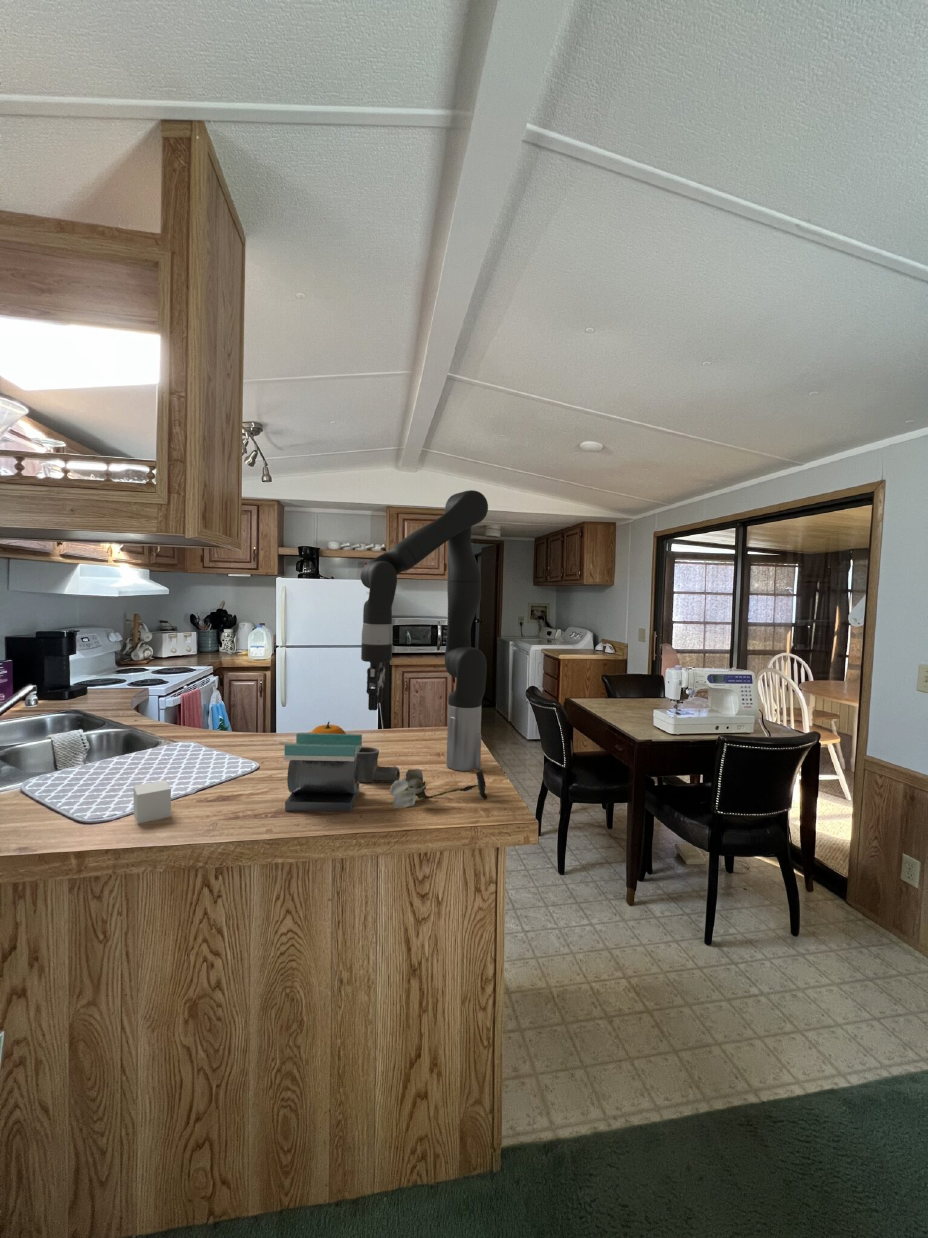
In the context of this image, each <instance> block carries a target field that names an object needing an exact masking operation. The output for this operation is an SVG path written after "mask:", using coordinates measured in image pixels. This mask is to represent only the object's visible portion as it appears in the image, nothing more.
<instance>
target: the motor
mask: <svg viewBox="0 0 928 1238" xmlns="http://www.w3.org/2000/svg"><path fill="white" fill-rule="evenodd" d="M295 737H296V738H295V739H296V741H295V743H291V744H290V743H289V744H288V743H285V745H284V753H283V754H284V755H283V760H284V761H289V763H288V769H287V779H286V780H287V790H288V792H289V793H290V794H289V796H288V797H287V799H286V800H285V801H284V811H285V812H325V813H326V812H329V813H330V812H331V813H332V812H333V813H351V812H352V809H353V807H354V804H355V803H356V799H357V797H358V795H359V793H360V782H359V781H358V772H359V758H358V753H359V751H360V749H361V747H363V734H360V733H359V734H357V733H354V734H353V733H346V734H320V733H311V732H310V733H309V732H308V733H307V732H305V733H304V732H297V733H296V736H295Z"/></svg>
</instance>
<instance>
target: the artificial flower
mask: <svg viewBox="0 0 928 1238" xmlns="http://www.w3.org/2000/svg"><path fill="white" fill-rule="evenodd" d="M475 774H476V778H477V785H467V786H465V787H463V788H459V787H458V788H454V789H451V790H448V791H443V792H440V793H437V794H432V795H427V794H426V792H425V791H426V790H427V786H428V784H426V780H424V775H423V771H422V769H419V768H416V769H412V768H411V769H407V771H406V773H405V775H404V776H405V777H402V778H401V779H399V780H397V781H395V782H392V783H393V784H391V785H390V791H389V792H390V793H389V794H390V795H391V796H392V797H394V798H393V800H392V804H391V806H393V807H395V808H400V809H401V807H404V808H407V807H413V806H414V805H415V804H416V797H417V798H418V799H431V798H432V799H433V798H434V797H438V796H443V795H445V794H447V793H448V794H449V793H454V792H458V791H460V792H468V791H470V790H472V789H474V788H475V787H477V789H478V791H479V795H480V797H482V798H483V799H484V800H485V799H486V800H487V799H488V794H487V793H486V786H487V785H486V780H485V776H484V772H483V769H482V770H481V769H479V770H478V771H476V773H475ZM404 808H403V809H404Z"/></svg>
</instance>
